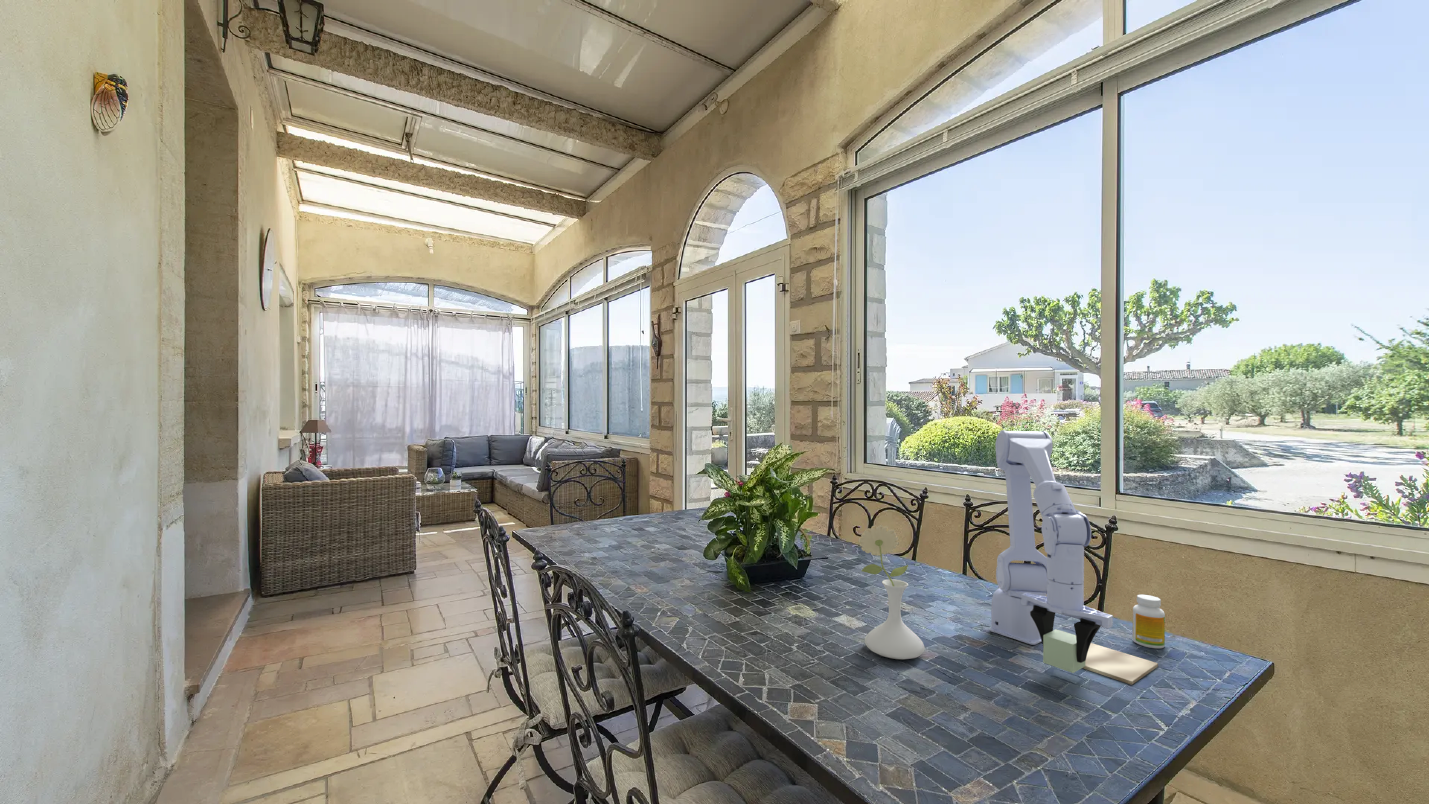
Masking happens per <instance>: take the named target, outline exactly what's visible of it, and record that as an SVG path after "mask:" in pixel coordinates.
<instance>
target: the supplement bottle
mask: <svg viewBox="0 0 1429 804" xmlns="http://www.w3.org/2000/svg"><path fill="white" fill-rule="evenodd" d="M1161 601H1162V600H1161V598H1159V597H1158V596H1153V595H1150V594H1149V595H1148V594H1137V595H1136V603H1138V604H1135V605H1134V606H1132V641H1133V642H1134V643H1135V644H1137V645H1139V646H1142V647H1144V648H1150V649H1163V648H1165V645H1166V643H1165V642H1166V639H1165V638H1166V637H1165V635H1166V632H1165V631H1166V621H1165V620H1166V614H1165V611H1164V610H1163V609H1162V608H1160V607H1161V606H1162V604H1161V603H1162V602H1161Z"/></svg>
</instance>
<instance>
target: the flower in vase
mask: <svg viewBox="0 0 1429 804" xmlns="http://www.w3.org/2000/svg"><path fill="white" fill-rule="evenodd" d="M858 543H859V546H860V547H861V548H860V549H861V550H862V552H865V554H871V555H872V556H878V557H880V565H881V566H880V565H878V564H875V563H871V564H868V565H866V566H865V567H863V568H862V569H861V572H863V573H868V574H871V575H878V574H879V573H881V572H882V571H884V573H885V575H886V576H887V578H888V579H883V580H882V581H881V583H882V585H883V586H884V588H885V591H886V593H887V597H888V598H887V600H888V614H887V615H888V616H887V618H886V620H885V621H884V622H882V623H881V624H879V625H878V626H876V627H875V628H873V629H871V630H870V631H869V632H868V633H866V636H865V638H864V644H865V645H866V647H867V648H868V649H869V650H870V651H871V652H873V653H875V654H877V655H879V656H881V657H885V658H889V659H895V660H909V659H916V658H918V657H920V656H922V654H924V652H925V650H926V648H925V645H924V641H922V639H921V638H920V637H919V636H918V635H917V634H916V633H915V632H914V631H913V630H912V629H911V628H909V627H908V626H907V625H906V624H905V623H904V621H903V619H902V615H901V614H902V613H901V607H902V600H903V599H902V597H903V595H904V592H905V591H906V589H907V588H908V586H909V583H908V582H906V581H904V580H900V579H895V578H894V577H899V576H902V575H904V573H905V572H907V569H908V567H909V564H906V565H903V566H899V567H896V568H893V569H892V570H891V572H890V574H889V573H888V572H887V570H886V568H885V566H884V563H883V555H884V556H885V555H887V554H888V553H889V554H890V553H893V552H894V550H895V549H896V548H897V546H898V545H899V544H900V542H899V538H898V536H897V533H896V530H895V529H890V528H889V526H888V525H885V526H883V524H882V525H881V524H880V525H878V526H877V525H872V526H871V528H869V527H867V528H865V530H863V532H862V533H861V534H860V537H859V538H858ZM891 577H893V579H892V578H891Z"/></svg>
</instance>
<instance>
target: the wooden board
mask: <svg viewBox="0 0 1429 804" xmlns="http://www.w3.org/2000/svg"><path fill="white" fill-rule="evenodd" d="M1158 667H1159V663H1158V662H1155V661H1152V660H1149V659H1145V658H1142V657H1138V656H1136V655H1131V654H1128V653H1125V652H1123V651H1119V650H1116V649H1112V648H1109V647H1106V646H1102V645H1099V644H1095V643H1093V642H1091V644H1090V647H1089V649H1088V653H1087V657H1086V661H1085V667H1083V668H1082V669H1085V670H1087V671H1090V672H1094V673H1096V674H1099V675H1102V676H1105V677H1108V678H1111V679H1113V680H1117V681H1118V682H1122V683H1126V684H1129V685H1131V686H1133V685H1134V684H1135V683H1137V682H1139V680H1141V679H1143V678H1144V677H1145V676H1147V675H1148V674H1149V673H1151V672H1152V671H1154V670H1155V669H1156V668H1158Z"/></svg>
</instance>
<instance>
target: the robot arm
mask: <svg viewBox="0 0 1429 804" xmlns="http://www.w3.org/2000/svg"><path fill="white" fill-rule="evenodd" d="M994 446H995V458H996V463H997V465H996V466H997V469H1000V470H1001V471H1004V476H1005V484H1006V485H1005V486H1006V498H1007V500H1006V501H1007V514H1008V530H1009V532H1008V533H1009V547H1008V548H1006V549H1005V550H1003V551H1002V552H1001V553H999V554H998V556H997V558H996V567H995V569H996V571H995V579H996V583H997V586H998V587H999V588H997V589H996V590H995V591H994V593H993V594H992V598H991V608H990V609H991V613H990V614H991V619H990V622H991V623H990V628H989V632H992V633H995V634H998V635H1000V636H1004V637H1006V638H1010V639H1014V640H1016V641H1019V642H1022V643H1025V644H1027V645H1032V646H1036V645H1037V644H1039V643H1041V644H1042V645H1041V646H1043V635H1045V634H1047V633H1049V632H1051V631H1053V630H1054V623H1055V616H1056V614H1058V615H1063V616H1065V617H1070V618H1072V619H1076V620H1079V621H1077V622H1074V623H1073V627H1074V632H1075V635H1076V641H1077V650H1076V657H1077V662H1080V663H1082V662H1084V661H1086V657H1087V653H1088V649H1089V647H1090V644H1091V643H1093V640H1094V637H1096V634H1097V632H1098V631H1099V630H1100V628H1105V629H1111V628H1113V627H1114V626H1113V625H1114V624H1113V622H1114V621H1113V619H1114V616H1113V614H1109V613H1106V612H1103V611H1100V610H1097V609H1095V608H1091V607H1089V606H1088V605H1087V606H1086V605H1084V604H1085V603H1084V599H1085V598H1084V595H1085V594H1084V592H1085V590H1084V589H1085V586H1084V585H1085V584H1084V583H1085V578H1084V577H1085V547H1088V546H1089V545H1090V543H1091V539H1092V527H1091V523H1090V521H1089V518H1088V516H1087V515H1086V514H1085V513H1082V512H1081V510H1079V509H1076V507H1075V505H1074V503H1073V501H1072V499H1071V497H1070V495H1069V492H1068V490H1067V488H1066V487H1065V485H1064V484H1063V483H1061V482H1057V481H1056V478H1055V474H1054V470H1053V468H1052V465H1051V461H1050V460H1051V456H1052V454H1053V453H1052V452H1053V439H1052V436H1051V435H1050V434H1049V432H1048V431H1045V430H1041V431H1030V430H1029V431H1028V430H1027V431H1026V430H1005V429H1003V430H1002V429H1001V430H999V432H998V433H997V435H996V440H995V445H994ZM1031 480H1032V482H1033V484H1034V485H1035V489H1033V494H1032V482H1031ZM1032 495H1033V498H1034V501H1035V503H1036V506H1037V508H1038V510H1039V513H1040V516H1041V518H1042V522H1041V534H1042V539H1043V548H1044V553H1046V554H1047V555H1046V556H1045V554H1043V553H1042V552H1040V551H1039V550H1038V549H1037V548H1036V539H1035V538H1036V537H1035V523H1034V522H1035V521H1034V512H1033V499H1032ZM1013 561H1022V562H1013ZM1023 561H1025V563H1024V562H1023ZM1026 562H1028V563H1026ZM1029 562H1033V563H1029Z"/></svg>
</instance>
